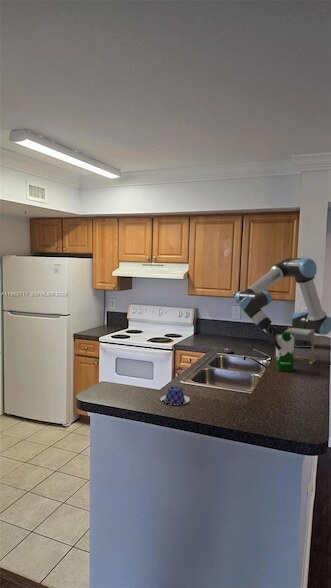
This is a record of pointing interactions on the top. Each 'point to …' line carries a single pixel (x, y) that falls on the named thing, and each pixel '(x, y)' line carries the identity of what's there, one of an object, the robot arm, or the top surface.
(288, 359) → the soya milk
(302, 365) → the top surface
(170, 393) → the pudding
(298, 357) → the trapdoor stand
